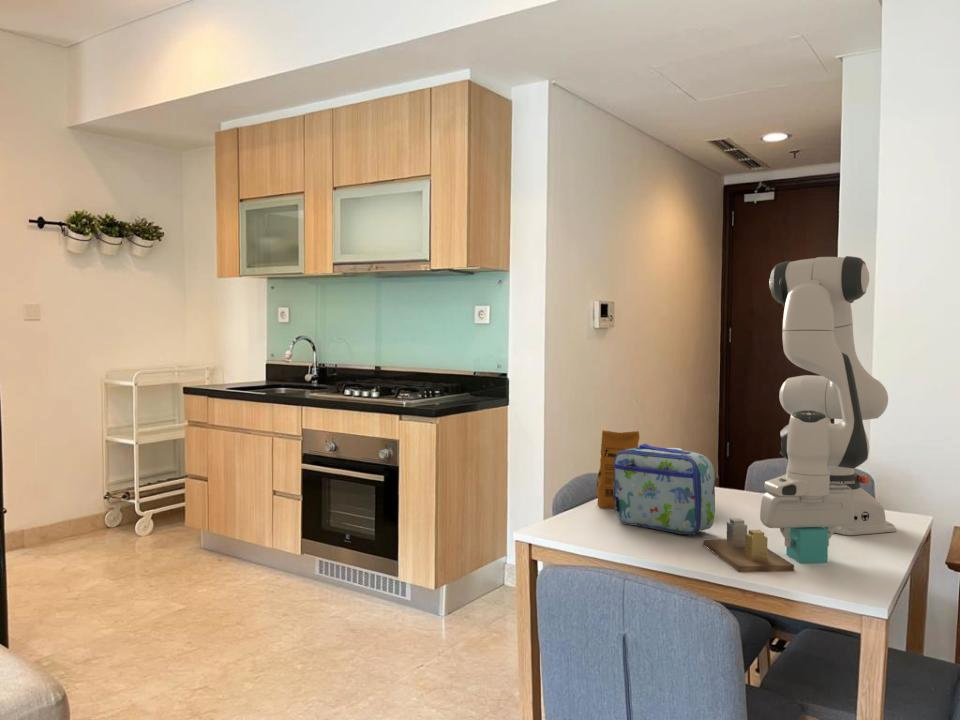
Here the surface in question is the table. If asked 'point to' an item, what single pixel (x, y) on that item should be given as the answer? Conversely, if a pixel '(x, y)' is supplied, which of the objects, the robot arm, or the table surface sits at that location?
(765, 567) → the walnut board
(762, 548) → the brass post
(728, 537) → the steel post
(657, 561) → the table surface
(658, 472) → the lunch box
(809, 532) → the matte teal cube
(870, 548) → the table surface
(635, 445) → the coffee package
